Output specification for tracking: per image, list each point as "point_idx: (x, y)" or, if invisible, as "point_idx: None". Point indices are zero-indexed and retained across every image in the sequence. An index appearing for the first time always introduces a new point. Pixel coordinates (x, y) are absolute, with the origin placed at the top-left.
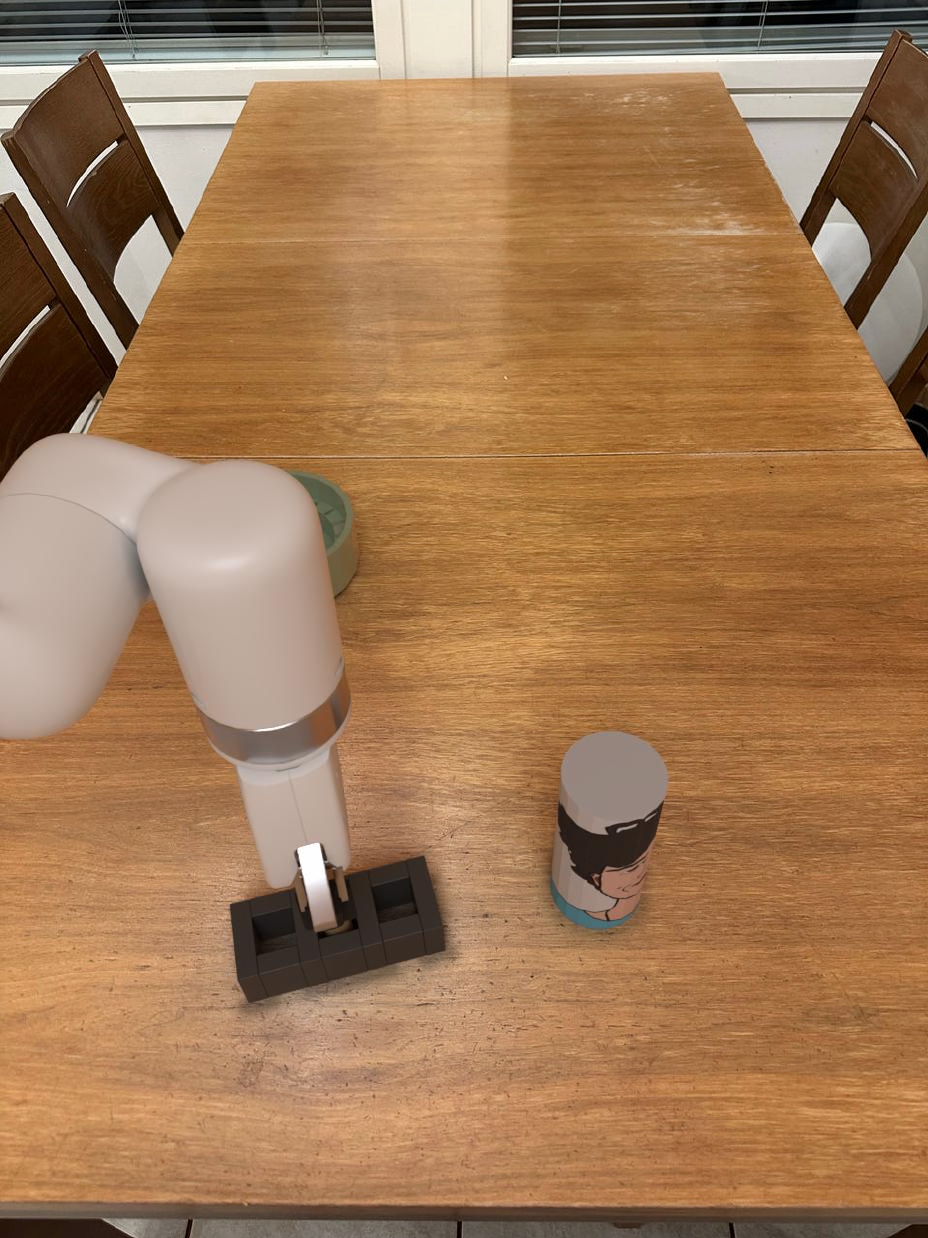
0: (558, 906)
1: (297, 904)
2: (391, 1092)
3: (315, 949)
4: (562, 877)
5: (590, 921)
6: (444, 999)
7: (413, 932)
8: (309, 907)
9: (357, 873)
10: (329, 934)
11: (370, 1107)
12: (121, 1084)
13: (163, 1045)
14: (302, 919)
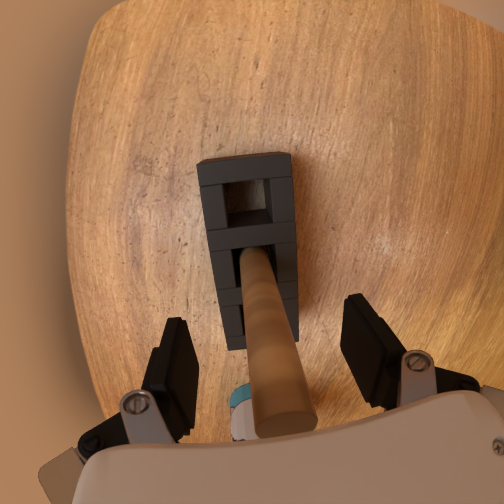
0: (248, 384)
1: (152, 374)
2: (125, 275)
3: (220, 246)
4: (251, 418)
5: (232, 401)
6: (190, 316)
7: (225, 330)
8: (88, 459)
9: (296, 288)
10: (242, 252)
11: (115, 259)
12: (152, 59)
13: (177, 86)
14: (162, 338)
